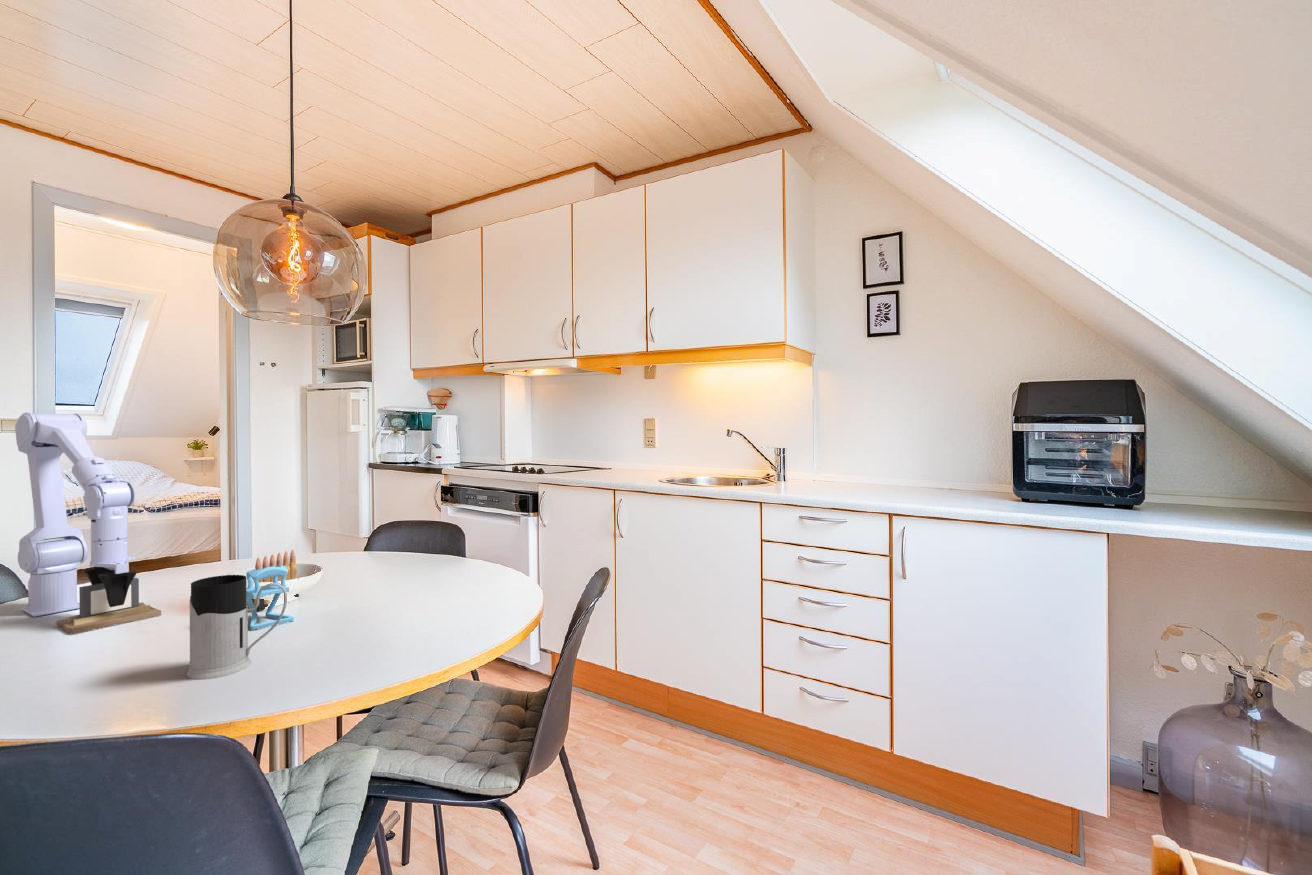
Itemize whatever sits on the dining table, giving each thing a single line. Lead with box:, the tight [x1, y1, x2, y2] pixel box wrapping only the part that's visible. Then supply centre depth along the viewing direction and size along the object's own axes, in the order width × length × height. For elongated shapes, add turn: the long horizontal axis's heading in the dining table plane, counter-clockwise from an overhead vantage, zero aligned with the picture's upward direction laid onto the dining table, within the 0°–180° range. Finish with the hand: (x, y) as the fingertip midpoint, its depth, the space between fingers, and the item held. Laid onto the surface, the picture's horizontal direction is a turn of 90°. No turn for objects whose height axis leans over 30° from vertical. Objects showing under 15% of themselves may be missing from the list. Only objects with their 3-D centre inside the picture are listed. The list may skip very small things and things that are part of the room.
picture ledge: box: [55, 601, 162, 635], centre depth 122 cm, size 10×14×2 cm
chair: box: [245, 564, 295, 631], centre depth 121 cm, size 8×8×12 cm
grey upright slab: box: [78, 577, 140, 618], centre depth 122 cm, size 2×9×7 cm, turn 149°
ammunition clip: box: [252, 549, 300, 613], centre depth 133 cm, size 11×2×12 cm, turn 165°
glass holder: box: [186, 574, 288, 680], centre depth 98 cm, size 9×14×15 cm, turn 111°
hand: (110, 602), depth 122 cm, fingers open, 7 cm apart
